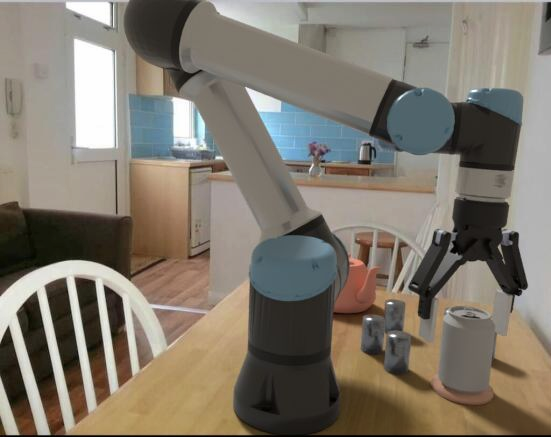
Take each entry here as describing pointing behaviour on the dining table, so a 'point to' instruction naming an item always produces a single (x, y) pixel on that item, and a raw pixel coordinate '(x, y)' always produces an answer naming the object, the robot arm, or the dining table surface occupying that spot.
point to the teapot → (357, 288)
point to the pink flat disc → (462, 398)
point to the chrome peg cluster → (391, 336)
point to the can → (466, 349)
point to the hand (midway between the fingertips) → (463, 335)
